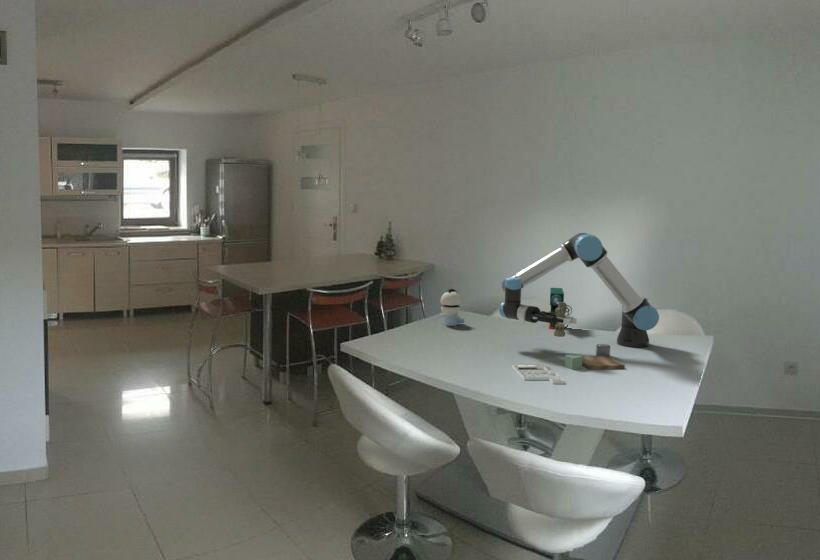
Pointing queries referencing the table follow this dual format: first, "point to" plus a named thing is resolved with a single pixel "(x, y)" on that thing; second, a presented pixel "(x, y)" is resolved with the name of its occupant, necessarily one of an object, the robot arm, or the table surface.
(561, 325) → the grenade
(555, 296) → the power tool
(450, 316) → the toy
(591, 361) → the walnut board
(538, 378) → the floor plan model
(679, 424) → the table surface
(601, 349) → the grey rounded block
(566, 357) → the green block
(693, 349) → the table surface
